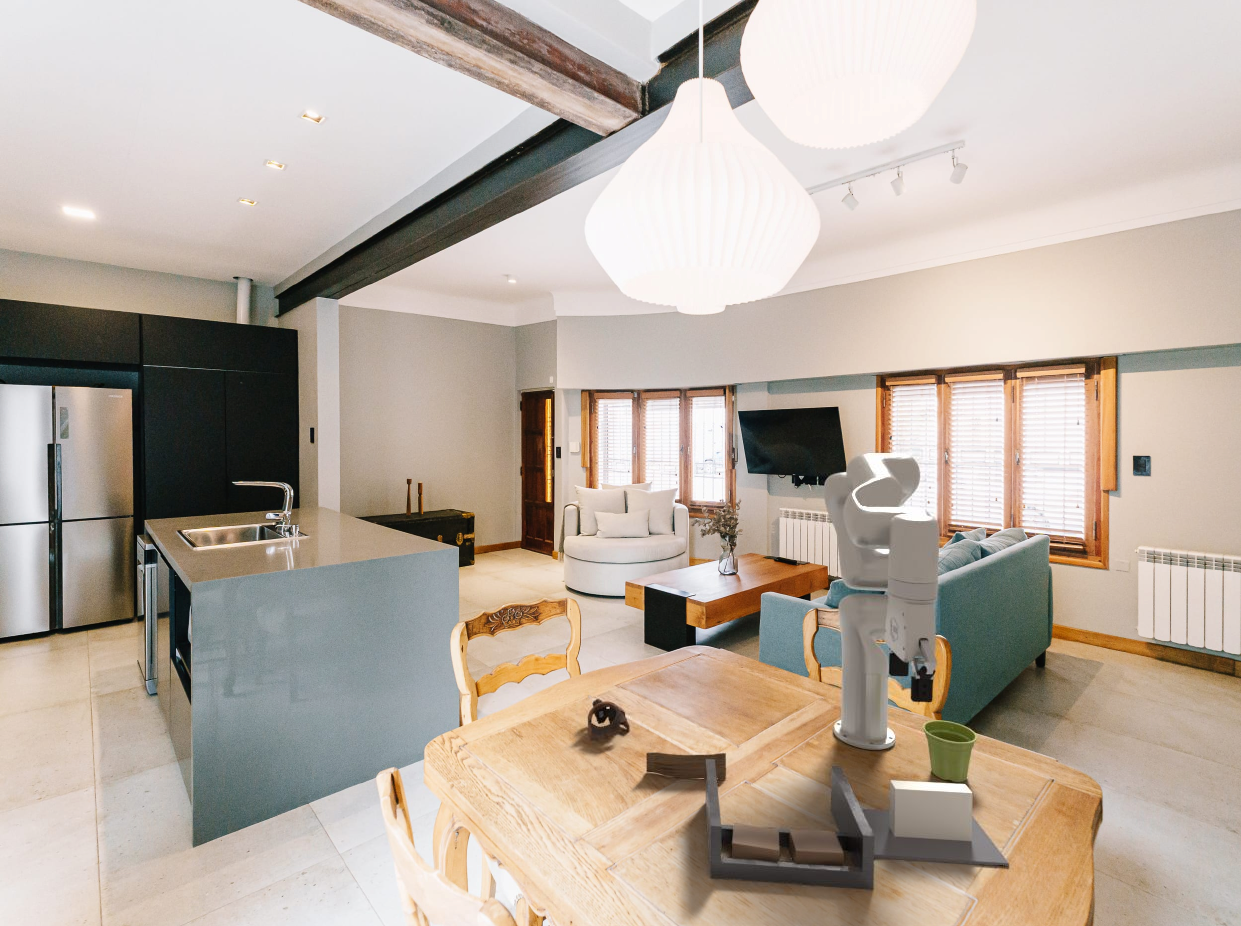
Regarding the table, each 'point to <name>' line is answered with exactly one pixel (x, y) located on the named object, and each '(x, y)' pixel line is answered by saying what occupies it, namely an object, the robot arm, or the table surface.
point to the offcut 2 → (815, 847)
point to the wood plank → (685, 765)
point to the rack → (851, 837)
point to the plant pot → (949, 749)
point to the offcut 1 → (755, 843)
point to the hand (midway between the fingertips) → (909, 687)
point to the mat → (931, 844)
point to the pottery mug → (601, 714)
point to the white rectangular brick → (931, 810)
